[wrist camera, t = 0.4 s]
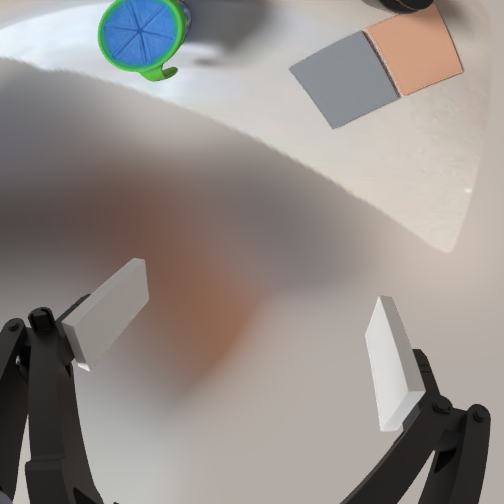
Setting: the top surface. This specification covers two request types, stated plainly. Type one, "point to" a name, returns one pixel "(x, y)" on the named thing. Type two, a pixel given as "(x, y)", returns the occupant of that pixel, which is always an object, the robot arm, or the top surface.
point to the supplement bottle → (400, 5)
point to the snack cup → (143, 35)
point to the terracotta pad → (416, 48)
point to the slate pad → (345, 80)
